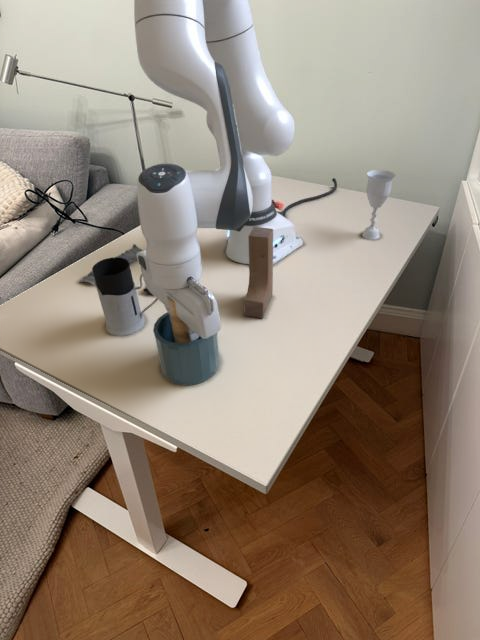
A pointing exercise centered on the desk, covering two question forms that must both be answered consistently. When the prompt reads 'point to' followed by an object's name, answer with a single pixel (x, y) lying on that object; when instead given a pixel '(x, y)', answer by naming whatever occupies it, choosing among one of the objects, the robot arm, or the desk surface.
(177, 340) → the rolling pin
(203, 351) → the crock
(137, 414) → the desk surface
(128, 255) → the grey fabric pouch
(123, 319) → the glass holder
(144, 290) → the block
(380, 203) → the chalice
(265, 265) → the wooden block
